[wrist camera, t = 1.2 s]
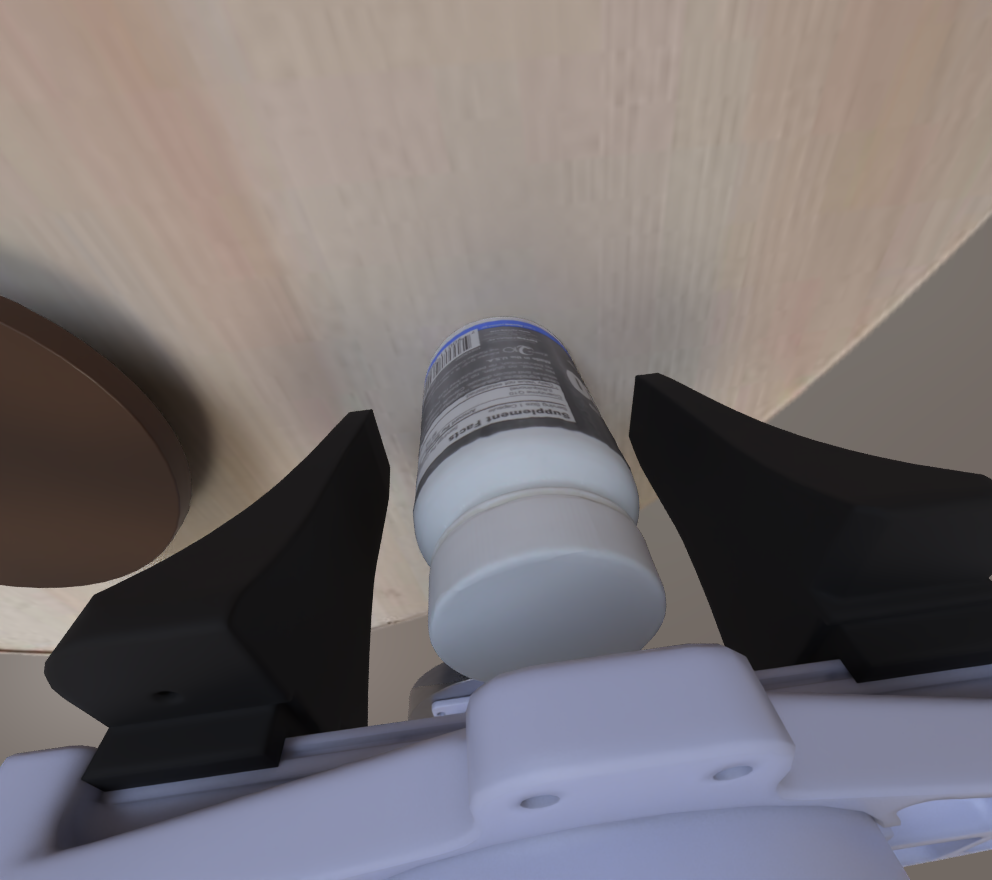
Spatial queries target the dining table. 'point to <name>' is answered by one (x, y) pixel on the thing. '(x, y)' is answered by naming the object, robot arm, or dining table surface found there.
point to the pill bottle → (526, 509)
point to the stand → (79, 462)
